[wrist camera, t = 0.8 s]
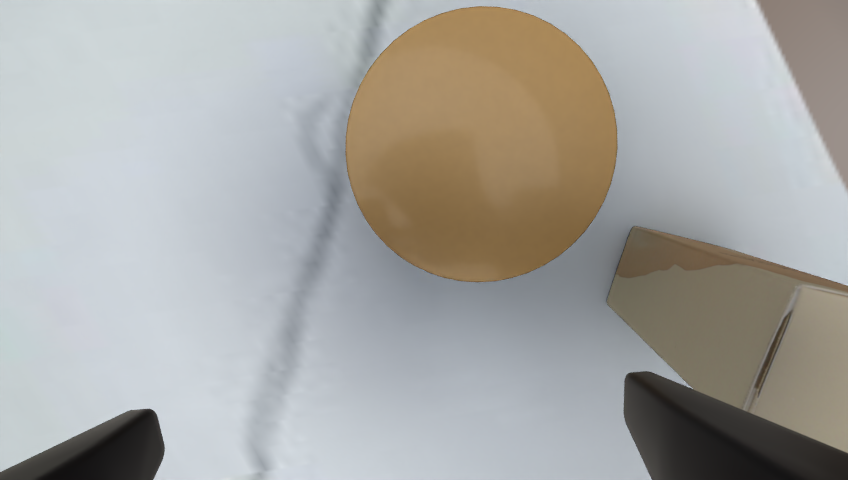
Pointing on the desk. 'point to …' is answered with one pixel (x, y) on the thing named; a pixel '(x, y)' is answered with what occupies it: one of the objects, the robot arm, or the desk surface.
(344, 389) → the desk surface
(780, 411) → the box
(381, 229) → the tin
